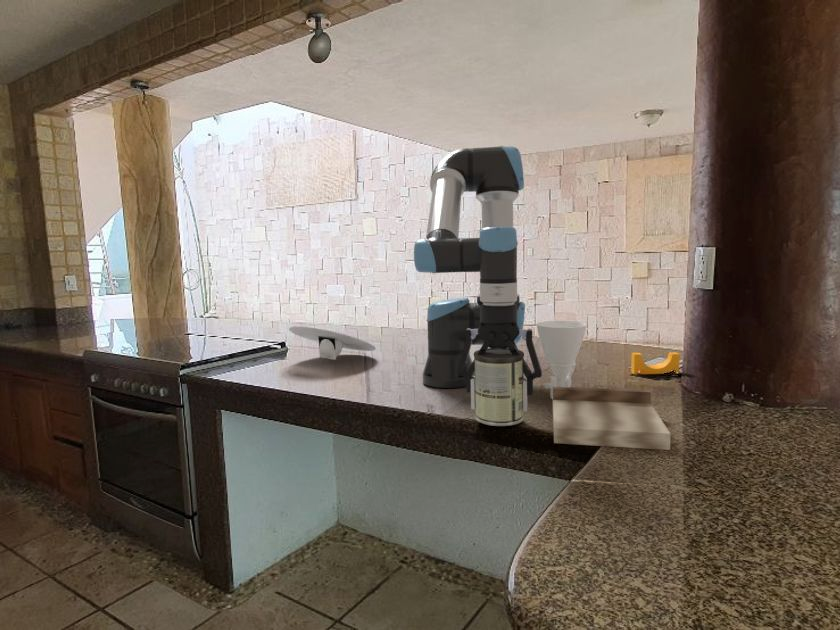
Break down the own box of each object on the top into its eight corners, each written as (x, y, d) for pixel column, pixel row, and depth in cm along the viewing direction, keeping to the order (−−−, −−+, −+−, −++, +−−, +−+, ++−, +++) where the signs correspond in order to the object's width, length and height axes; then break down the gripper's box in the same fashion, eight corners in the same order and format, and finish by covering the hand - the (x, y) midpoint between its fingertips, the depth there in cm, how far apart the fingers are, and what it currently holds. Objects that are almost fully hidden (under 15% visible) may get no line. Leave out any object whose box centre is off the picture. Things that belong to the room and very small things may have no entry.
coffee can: (474, 410, 116) (473, 347, 114) (521, 410, 115) (521, 347, 113) (474, 426, 106) (473, 358, 104) (526, 426, 105) (526, 357, 103)
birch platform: (553, 443, 98) (554, 414, 97) (552, 410, 117) (552, 386, 116) (670, 449, 93) (671, 420, 92) (648, 415, 112) (649, 390, 112)
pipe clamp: (672, 373, 149) (673, 351, 148) (678, 377, 144) (679, 354, 144) (629, 373, 150) (629, 351, 149) (634, 377, 145) (634, 354, 145)
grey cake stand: (268, 339, 179) (322, 323, 201) (292, 389, 177) (344, 368, 200) (319, 304, 164) (371, 291, 186) (345, 359, 162) (395, 339, 184)
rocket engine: (527, 394, 131) (527, 322, 128) (566, 389, 134) (567, 319, 132) (554, 406, 120) (554, 329, 118) (595, 400, 124) (597, 325, 121)
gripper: (440, 305, 106) (442, 411, 109) (555, 305, 101) (555, 417, 104) (447, 301, 113) (449, 400, 116) (555, 301, 108) (554, 405, 111)
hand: (499, 408), depth 110 cm, fingers closed on coffee can, 10 cm apart
